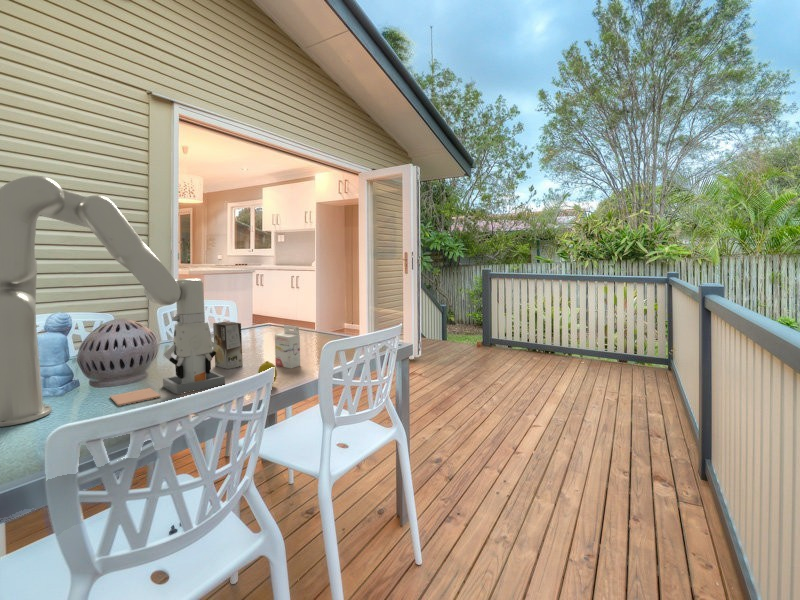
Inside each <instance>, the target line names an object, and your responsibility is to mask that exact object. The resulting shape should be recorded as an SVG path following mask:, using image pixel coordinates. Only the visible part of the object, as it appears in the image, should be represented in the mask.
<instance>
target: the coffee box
mask: <svg viewBox="0 0 800 600" xmlns="http://www.w3.org/2000/svg"><path fill="white" fill-rule="evenodd" d="M212 327H213V328H212V329H213V342H214V343H215V344H217V345H218V346H220V348H219V350H218V351H217V352H216V354H215V356H214V366H215V367H219V368H223V369H226V370H230V369H234V368H238V367H239V366H240V367H243V366H244V363H243V362H244V361H243V342H242V339H243V338H242V323H240V322H235V321H228V320H227V321H220V322H213V323H212Z"/></svg>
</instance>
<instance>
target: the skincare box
mask: <svg viewBox="0 0 800 600" xmlns="http://www.w3.org/2000/svg"><path fill="white" fill-rule="evenodd" d="M181 365H182V366H183V375H184V378H183V379H182V384H187V383H191V382H196V381H201V380H206V379H207V378H206V364H205V355H198V356H195V353H194V350H191V356H190V357H185V358H184V359H183V361H182V363H181ZM182 384H181V385H182Z"/></svg>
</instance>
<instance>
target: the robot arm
mask: <svg viewBox="0 0 800 600" xmlns="http://www.w3.org/2000/svg"><path fill="white" fill-rule="evenodd" d="M40 216H42V217H46V218H49V219H52V220H57V221H60V222H64V223H68V224H72V225H74V226H75V225H76V226H80V227H84V228H89V230H90V231H91V232H92V233H93V234H94V235H95V237H96V238H97V240H98V241H99V242H100V243H101V244H102V245H103V246H104V247H105V249H106V250H107V251H108V253H109V254H110V255H111V256H112V257H113V259H115V261H116V262H117V263H118V264H120V265H121V266H123V267H124V268H125V269H126V270H128V271H129V272H130V273H131V274H132V275H133V276H134V278H135V279H137V281H138V282H139V283H140V285H142V287H143V288H144V296H145V297H146V299H147V300H149V301H150V302H152V303H154V304H157V305H160V306H166V307H167V306H171V305H173V304H175V303H176V313H175V316H172V318H171V319H172V322H176V324H175V325H174V329H173V340H172V341H173V343H172V345H171V346H170V347H169V348H168V349H167V350H166V351H165V352H163V354H162V355H163V357H164V358H165V359H166V360H168V361H169V362H170V363H172V364H173V365H175V376H178V378H180V379H183V378H184V375H183V366H182V365H181V363H182V361H183V359H184V358H185V357H190V356H191V350H194V353H195V356H198V355H205V364H206V373H208V374H209V373H210V370H211V371H212V363H211V362H212V360H213V358H215V354H216V352H217V351H218V350H219V348H220V346H218V345H217V344H215V343H214V341H212V335H211V334H212V333H211V329H210V325H209V322H208V321H206V315H205V295H204V282H203V280H202V279H201V278H179V279H175V278H174V277H173V275H172V274H171V273H170V271H169V270H168V269H167V268H166V266H165V265H164V264H163V262H161V260H160V259H159V258H158V257H157V256H156V255H155V253H154V252H153V251H152V250H151V249H150V247H149V246H148V245H147V244H146V243H145V242H144V241H143V239H142V238H141V236H140V235H139V234H138V232H137V231H136V230H135V229H134V228H133V226H132V225H131V223H130V222H129V221H128V220H127V218H126V217H125V216H124V215H123V213H122V212H121V211H120V209H119V207H117V205H116V204H115V203H114V201H112V200H110V198H108V197H106V196H103V195H99V194H98V195H97V194H96V195H89V196H86V195H83V194H79V193H77V192H76V193H75V192H72V191H69V190H66V189H63V188H62V187H61V186H60V185H59V184H58V183H57V182H56V181H55V180H53V179H51V178H49V177H47V176H40V175H28V176H23V177H20V178H16V179H13V180H11V181H9V182H7V183H5V184H4V185H3V186H2V187H0V428H2V427H9V426H10V427H11V426H14V425H20V424H25V423H30V422H32V421H36V420H39V419H42V418H44V417H45V416H48V415H50V414H51V413H52V406H51V405H49V404H44V402H43V401H44V400H43V399H44V398H43V389H42V376H41V365H40V364H41V363H40V352H39V342H38V331H37V314H36V312H37V311H36V306H37V305H36V303H37V302H36V299H37V298H36V295H37V277H38V274H37V273H38V262H37V259H36V253H35V251H36V250H35V249H36V248H35V247H36V245H35V244H36V241H35V240H36V233H37V232H36V231H37V230H36V229H37V222H38V218H39V217H40ZM172 354H173V355H175V358H174V357H173V356H172Z"/></svg>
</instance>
